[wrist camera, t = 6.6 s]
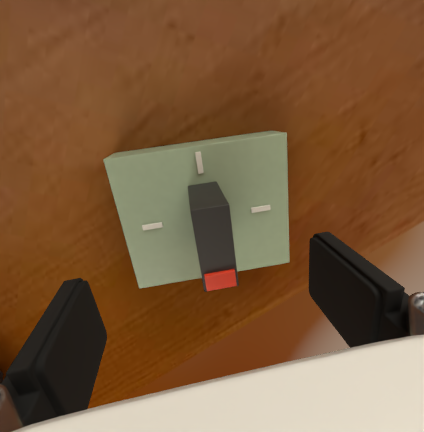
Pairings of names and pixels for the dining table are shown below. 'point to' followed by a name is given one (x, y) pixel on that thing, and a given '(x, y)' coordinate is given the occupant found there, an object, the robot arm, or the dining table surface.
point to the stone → (1, 377)
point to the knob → (213, 236)
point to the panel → (180, 208)
